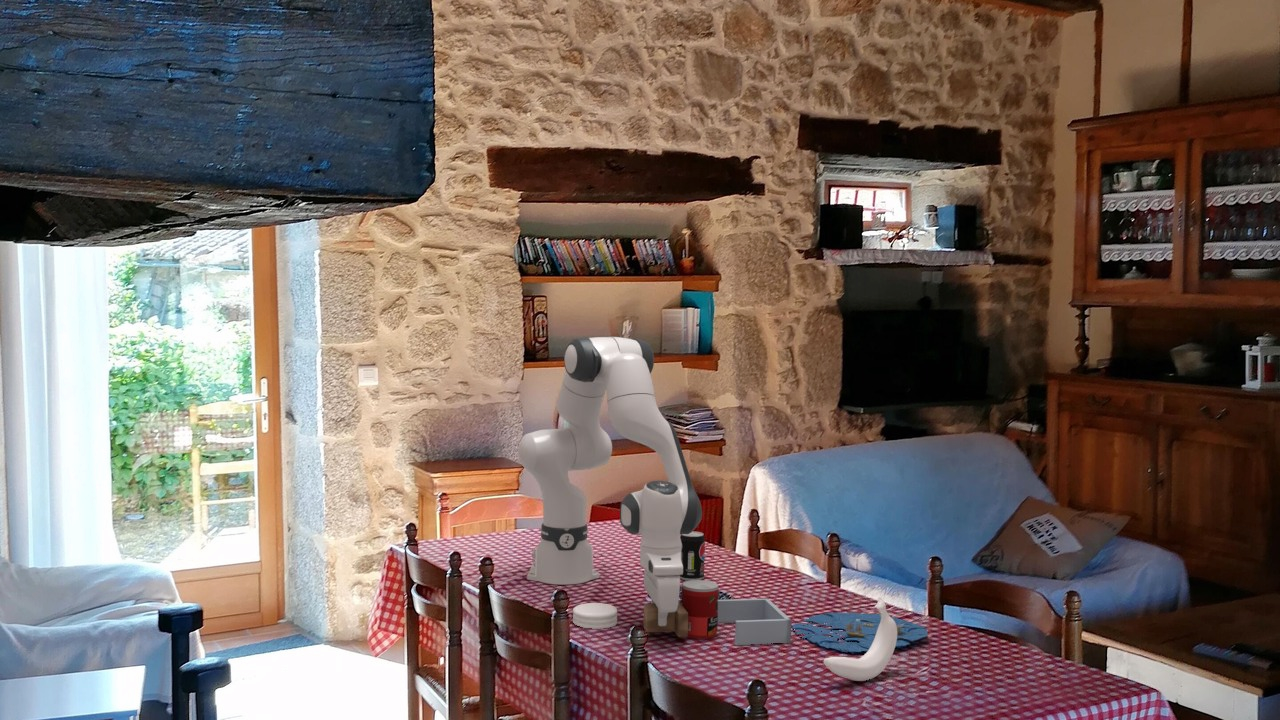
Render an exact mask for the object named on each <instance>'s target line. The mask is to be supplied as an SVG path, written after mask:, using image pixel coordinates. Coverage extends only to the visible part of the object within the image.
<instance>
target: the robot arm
mask: <svg viewBox="0 0 1280 720" xmlns="http://www.w3.org/2000/svg"><path fill="white" fill-rule="evenodd" d="M563 358H564V359H563V362H564V363H563V364H564V370H565V372H564V376H563V378H562V381H561V385H560V389H559V393H558V395H557V399H556V410H557V413H558V414H559V416H560V417H561V418H562V420H564V421H566V422H568V425H567V427H564V428H548V429H538V430H536V431H532V432H529V433H526V434H524V435H522V438H521V439H520V442H519V444H518V448H517V455H518V460H519V462H520V464H521V466H522V467H523V468H524V469H525V470H526V471H527V472H529V473H530V474H531V475H532V477H534V479H535V480H536V482H537V484H538V486H539V488H540V489H539V490H540V492H541V497H542V517H543V518H542V523H541V526H540V527H541V528H540V538H541V540H540V542H539V543H538V544H537V545H536V547H535V549H532V551H531V552H532V553H531V554H532V555H531V559H532V560H533V559H534V560H533V563H532V564H531V567H530V569H529V571H528V573H527V575H526V580H529V581H537V582H540V583H543V584H548V585H565V586H566V585H579V584H582V583H586V582H589V581H592V580H595V579H599V578H600V577H601V576H600V575H601V574H600V572H598V571H597V570H596V569H594V547H593V545H592V544H591V543H590V542H589V541H588V533H589V530H588V524H587V523H586V522H587V520H586V519H587V497H586V494H585V492H584V491H583V490H582V488H580V487H578V486H576V485H575V484H572V483H571V482H570V478H569V472H572V471H573V472H574V471H585V470H591V469H595V468H599V467H602V466H605V465H606V464H608V462H609V460H610V459H611V457H612V453H613V442H612V440H611V437H610V436H609V434H608V433H607V432H606V431H605V430H604V429H603V427H601V421H600V414H601V411H602V405H603V402H604V397H605V394H606V400H607V401H606V404H607V410H608V411H607V413H608V417H609V421H610V423H611V426H612V427H613V429H614V430H615V431H616V432H617V433H618V434H620V436H622V437H624V438H625V439H627V440H630V441H632V442H636V443H639V444H641V445H643V446H646V447H647V448H650V449H652V450H653V451H655V452H656V454H657V455H659V457H660V460H661V461H662V465H663V468H664V471H665V475H666V478H667V481H666V480H652V481H648V482H647V483H645V484H644V486H643V489H641V490H638V491H634V492H629V493H628V494H627V495H625V497H624V498H623V499H622V501H621V503H620V505H619V506H620V508H619V522H620V526H622V527H623V529H624V530H625V531H627V532H628V533H629V534H631V535H635V536H641V541H640V547H639V548H640V552H639V554H640V555H639V556H640V557H639V566H640V567H641V568H643V569H644V574H643V587H644V590H645V591H646V593H647V595H648V596H649V597H650V602H651V603H650V604H656V606H657V607H658V616H657V623H658V625H659V626H666V624H667V615H668V612H676V610H677V608H678V602H680V591H681V590H680V589H681V588H680V587H681V578H680V576H679V575H682V574H683V564H682V561H681V545H682V544H681V539H680V536H681V534H690V533H691V532H692V531H694V530H695V529H696V528H698V526H699V524H700V523H701V520H702V517H703V508H702V504H701V501H700V498H699V495H698V494H697V492H696V490H695V487H694V486H693V485H694V484H693V483H692V478H691V476H690V473H689V469H688V467H687V463H686V459H685V456H684V453H683V450H682V447H681V443H680V440H679V438H678V434H677V432H676V430H675V426H673V424H672V423H671V422H670V421H668V420H667V419H666V418H665V417H664V416H663V414H662V412H661V411H660V409H659V407H658V404H657V400H656V395H655V394H656V393H655V388H654V384H653V380H652V375H651V374H652V372H653V369H654V365H655V355H654V351H653V349H652V346H651V345H650V343H648V342H647V341H644V340H641V339H638V338H626V337H621V336H600V337H599V336H596V337H594V336H593V337H588V336H582V337H576V338H574V339H571V341H569V342H568V345H567V346H566V348H565V351H564V355H563Z"/></svg>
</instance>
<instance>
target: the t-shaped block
mask: <svg viewBox="0 0 1280 720" xmlns="http://www.w3.org/2000/svg"><path fill="white" fill-rule="evenodd" d="M657 616H658V607H657V606H656V604H652V603H643V628H644V630H645V633H662V632H675V634H676V636H677V637H678V638H688V612H687V611H686V610H685V609H684V607H683V606H682V605H681V602H680V601H679V602H678V608H677V610H676V612H668V615H667V624H666V626H659V625H658V623H657Z"/></svg>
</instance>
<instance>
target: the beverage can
mask: <svg viewBox="0 0 1280 720" xmlns="http://www.w3.org/2000/svg"><path fill="white" fill-rule="evenodd" d="M704 536H705V535H704V533H703V532H701V531H694V530H693V531H692V532H691V533H690V534H680V539H681V544H682V545H681V561H682V564H683V574H682V575H679V576H680V580H681V579H682V580H681V581H683V580H685V581H684V582H686V581H690V580H703V579H704V578H705V561H706V560H705V559H706V558H705V556H706V555H705V554H706V553H705V552H706V551H705V550H706V548H705V547H706V538H705V537H704Z"/></svg>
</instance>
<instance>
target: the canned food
mask: <svg viewBox="0 0 1280 720" xmlns="http://www.w3.org/2000/svg"><path fill="white" fill-rule="evenodd" d="M718 600H719V584H718V583H716V582H713V581H711V580H705V579H704V580H703V579H702V580H690V581H683V582H682V585H681V602H680V603H681V605H682V606H683V607H684V609H685V610H686V611H687V612H688V637H687V638H688V639H693V640H709V639H710V640H711V639H713V638H715V637H716V636H717V634H718V624H719V623H718Z"/></svg>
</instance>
